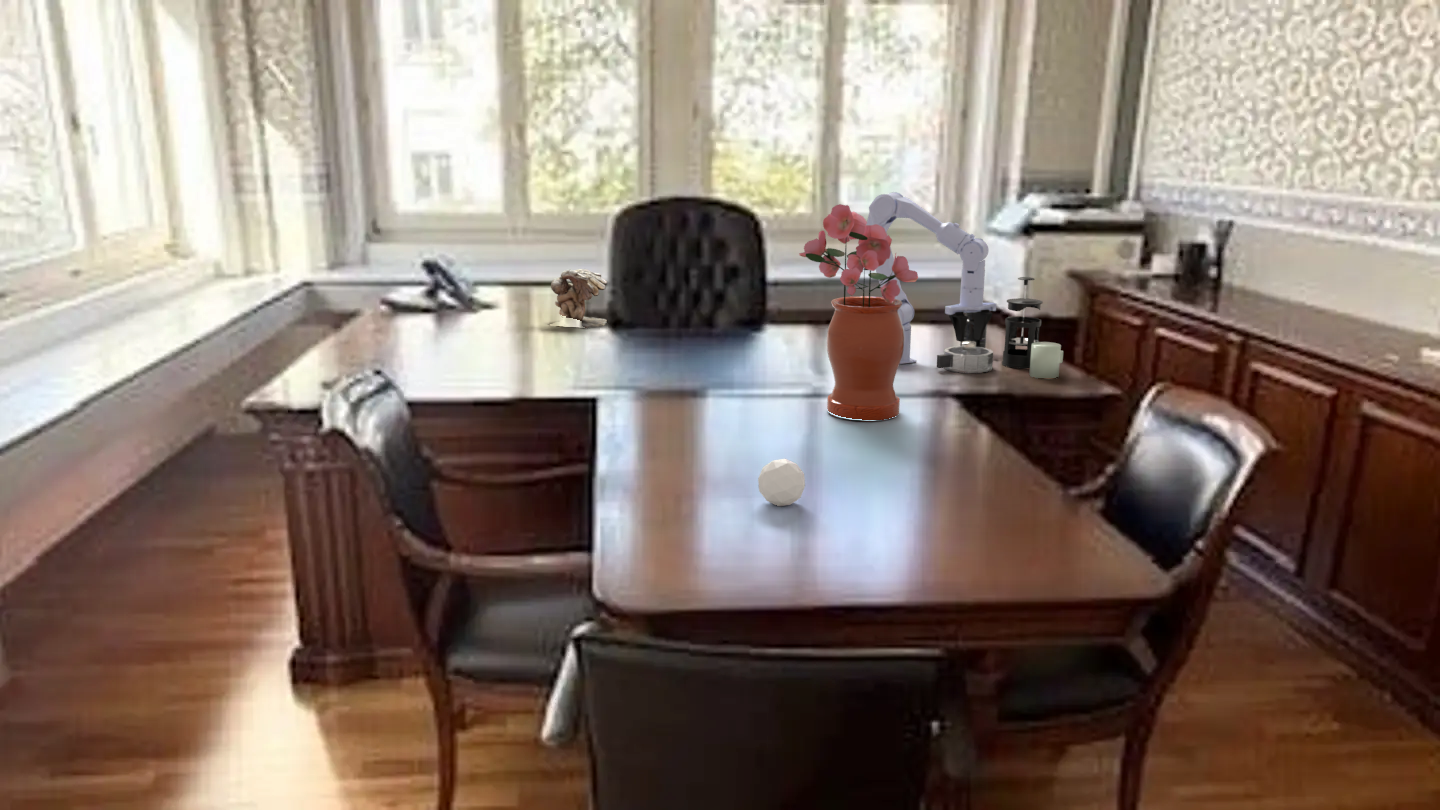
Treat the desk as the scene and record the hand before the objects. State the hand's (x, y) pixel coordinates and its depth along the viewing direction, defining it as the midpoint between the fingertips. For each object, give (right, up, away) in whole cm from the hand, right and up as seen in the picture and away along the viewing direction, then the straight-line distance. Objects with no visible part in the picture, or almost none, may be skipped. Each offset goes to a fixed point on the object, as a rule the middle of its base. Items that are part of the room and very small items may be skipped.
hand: (968, 340), depth 270 cm
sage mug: (+17, -9, -7) cm, 21 cm away
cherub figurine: (-109, +9, +67) cm, 128 cm away
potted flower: (-34, -18, -38) cm, 54 cm away
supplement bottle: (+6, -2, +20) cm, 21 cm away
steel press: (-1, -7, +1) cm, 8 cm away
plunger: (0, -7, +2) cm, 7 cm away
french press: (+15, -6, +6) cm, 17 cm away
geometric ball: (-54, -33, -95) cm, 114 cm away
